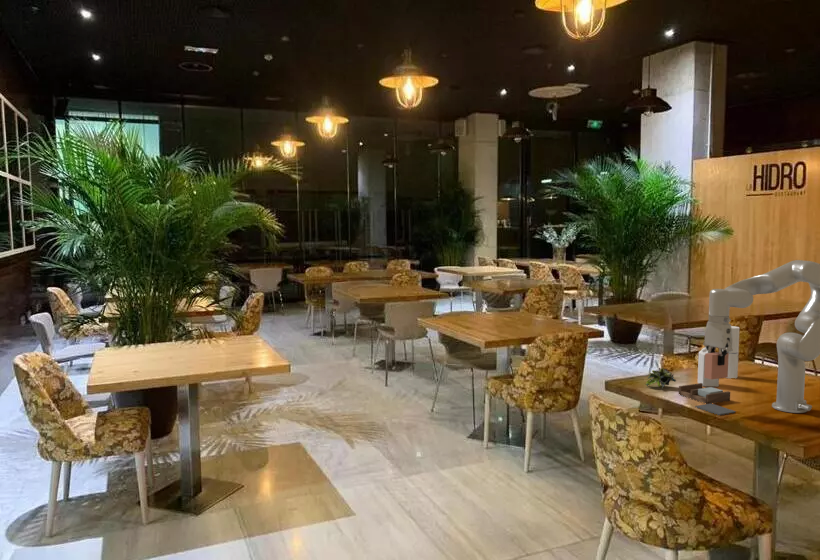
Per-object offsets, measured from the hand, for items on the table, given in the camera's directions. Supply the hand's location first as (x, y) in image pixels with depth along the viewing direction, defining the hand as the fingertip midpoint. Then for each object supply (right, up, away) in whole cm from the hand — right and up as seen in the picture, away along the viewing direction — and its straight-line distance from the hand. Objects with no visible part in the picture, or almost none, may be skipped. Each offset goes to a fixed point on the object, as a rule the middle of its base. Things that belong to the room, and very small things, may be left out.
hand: (716, 363), depth 253 cm
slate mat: (0, -19, +2) cm, 19 cm away
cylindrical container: (+34, -14, +55) cm, 66 cm away
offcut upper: (+5, -16, +16) cm, 23 cm away
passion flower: (-8, -16, +36) cm, 40 cm away
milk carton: (+16, -16, +40) cm, 46 cm away
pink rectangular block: (0, -6, +1) cm, 6 cm away
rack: (+4, -18, +19) cm, 27 cm away
